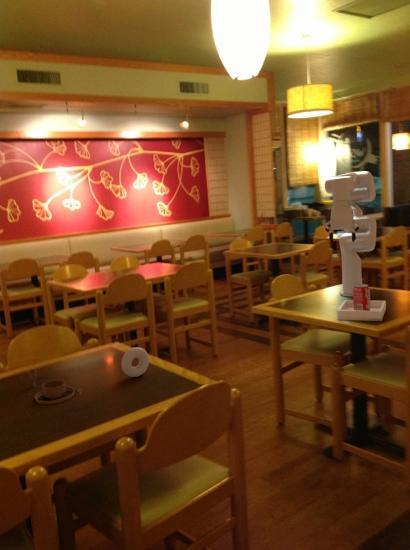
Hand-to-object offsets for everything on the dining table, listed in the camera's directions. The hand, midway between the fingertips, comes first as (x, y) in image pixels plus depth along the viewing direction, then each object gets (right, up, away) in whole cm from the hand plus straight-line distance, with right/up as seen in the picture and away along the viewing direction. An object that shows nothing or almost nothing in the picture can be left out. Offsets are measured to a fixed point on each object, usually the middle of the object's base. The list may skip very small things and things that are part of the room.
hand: (342, 241), depth 247 cm
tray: (+5, -33, -13) cm, 36 cm away
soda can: (+5, -32, -13) cm, 35 cm away
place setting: (-111, -53, -78) cm, 146 cm away
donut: (-86, -49, -70) cm, 122 cm away
